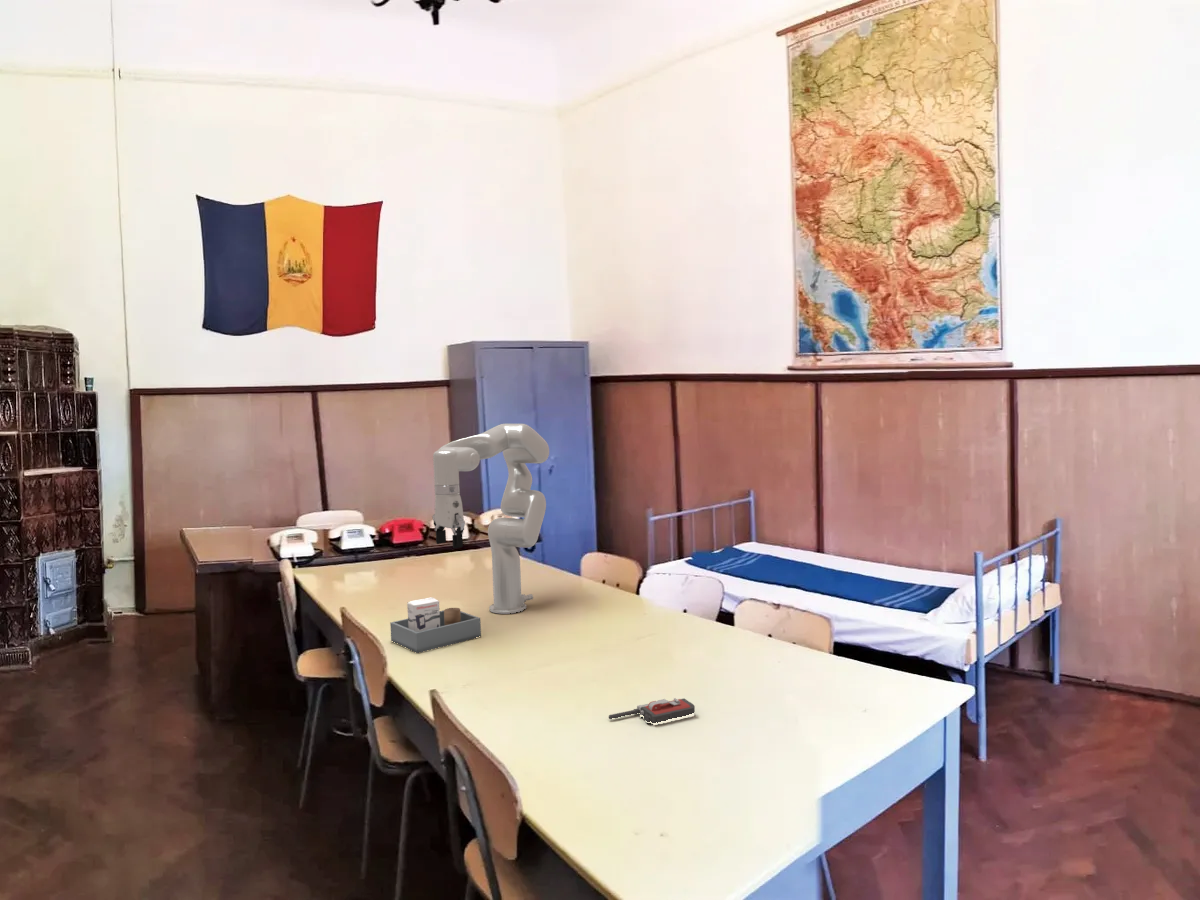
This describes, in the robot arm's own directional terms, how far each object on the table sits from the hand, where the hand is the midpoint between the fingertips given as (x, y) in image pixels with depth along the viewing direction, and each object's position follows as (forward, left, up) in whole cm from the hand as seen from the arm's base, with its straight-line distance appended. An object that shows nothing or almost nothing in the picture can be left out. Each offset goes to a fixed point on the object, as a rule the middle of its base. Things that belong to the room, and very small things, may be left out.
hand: (449, 545), depth 268 cm
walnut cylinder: (0, 0, -27) cm, 27 cm away
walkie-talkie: (+1, +90, -29) cm, 95 cm away
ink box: (+10, 0, -28) cm, 29 cm away
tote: (+6, 0, -28) cm, 29 cm away
